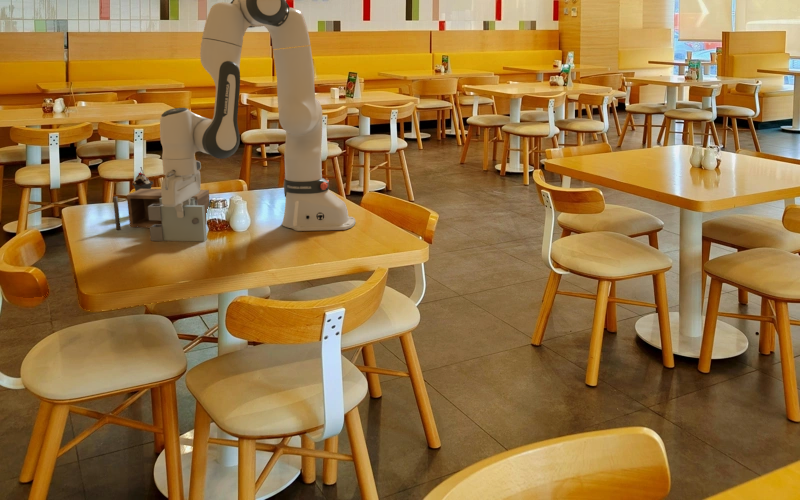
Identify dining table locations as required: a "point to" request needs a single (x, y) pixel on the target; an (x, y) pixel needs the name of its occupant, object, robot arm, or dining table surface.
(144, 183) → the sundae
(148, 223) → the cabinet
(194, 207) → the door
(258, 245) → the dining table surface
